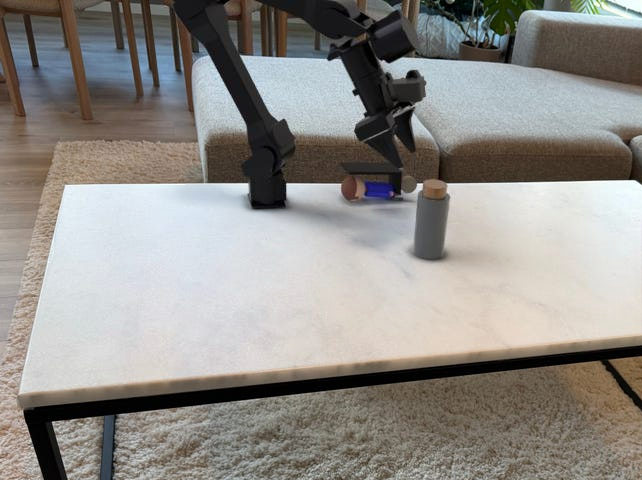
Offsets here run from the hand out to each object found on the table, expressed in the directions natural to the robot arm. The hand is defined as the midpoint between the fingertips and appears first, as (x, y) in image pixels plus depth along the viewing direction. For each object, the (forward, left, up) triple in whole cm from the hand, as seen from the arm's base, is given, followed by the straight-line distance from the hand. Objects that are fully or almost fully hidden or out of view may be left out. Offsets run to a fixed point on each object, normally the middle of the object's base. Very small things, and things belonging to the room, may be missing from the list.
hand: (407, 159), depth 124 cm
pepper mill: (+2, -10, -14) cm, 17 cm away
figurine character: (-1, +15, -14) cm, 20 cm away
